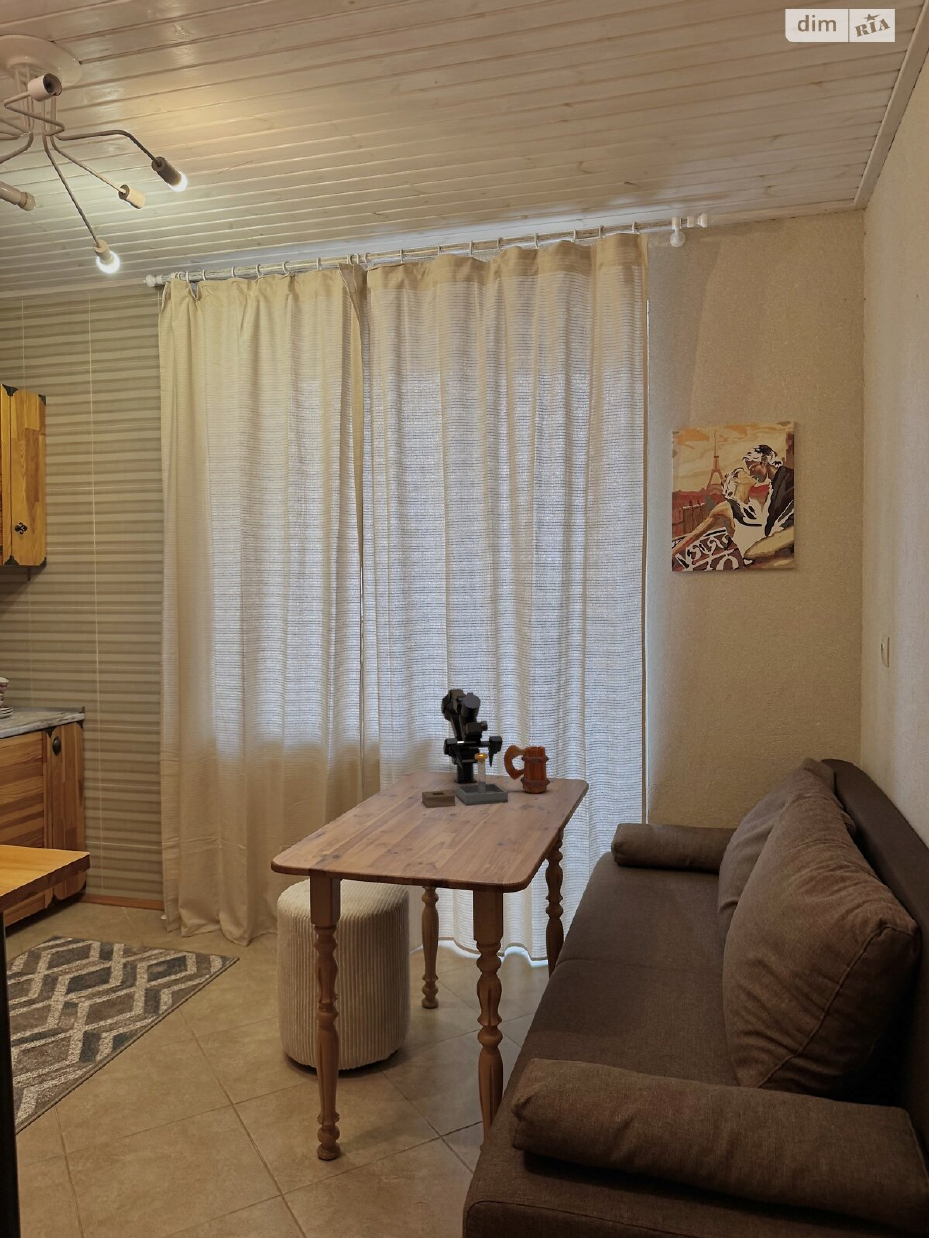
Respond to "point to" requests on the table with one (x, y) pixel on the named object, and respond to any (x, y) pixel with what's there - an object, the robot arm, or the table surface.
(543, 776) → the mug
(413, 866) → the table surface
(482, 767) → the pin
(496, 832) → the table surface
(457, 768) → the robot arm
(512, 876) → the table surface
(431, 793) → the hitch block
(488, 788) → the tray
